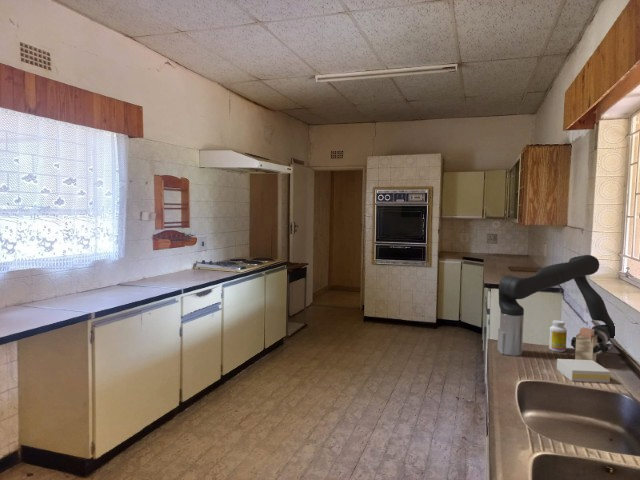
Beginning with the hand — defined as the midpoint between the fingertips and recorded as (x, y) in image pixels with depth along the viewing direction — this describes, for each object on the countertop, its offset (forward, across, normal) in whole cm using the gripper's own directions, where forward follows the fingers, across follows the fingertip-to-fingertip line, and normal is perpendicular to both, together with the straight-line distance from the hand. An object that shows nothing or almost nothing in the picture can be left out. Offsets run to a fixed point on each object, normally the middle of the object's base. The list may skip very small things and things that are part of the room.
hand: (584, 348), depth 173 cm
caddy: (-2, 0, +6) cm, 7 cm away
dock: (+13, +3, +6) cm, 15 cm away
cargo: (-2, 0, -4) cm, 4 cm away
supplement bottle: (-12, -13, +7) cm, 19 cm away
